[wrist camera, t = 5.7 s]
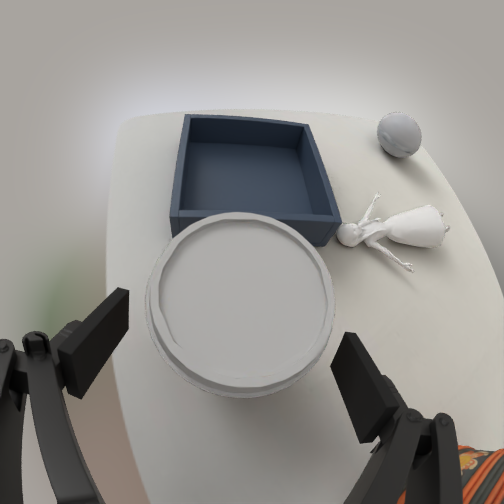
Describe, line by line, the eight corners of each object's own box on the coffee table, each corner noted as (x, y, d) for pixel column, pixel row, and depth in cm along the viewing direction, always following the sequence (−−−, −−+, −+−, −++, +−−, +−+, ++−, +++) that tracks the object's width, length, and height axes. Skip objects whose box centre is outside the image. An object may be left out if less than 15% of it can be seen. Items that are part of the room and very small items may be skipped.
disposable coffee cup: (154, 310, 23) (117, 239, 12) (251, 273, 26) (283, 187, 15) (199, 411, 19) (192, 435, 9) (299, 363, 22) (376, 334, 12)
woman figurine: (469, 253, 27) (364, 275, 24) (449, 268, 31) (345, 292, 28) (432, 182, 32) (326, 179, 29) (417, 200, 36) (315, 203, 33)
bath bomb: (386, 167, 39) (410, 131, 32) (361, 134, 42) (380, 99, 35) (414, 167, 41) (437, 136, 34) (390, 137, 44) (409, 106, 37)
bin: (173, 244, 26) (169, 216, 22) (184, 142, 33) (185, 114, 29) (324, 246, 29) (342, 222, 25) (298, 149, 36) (308, 124, 32)
